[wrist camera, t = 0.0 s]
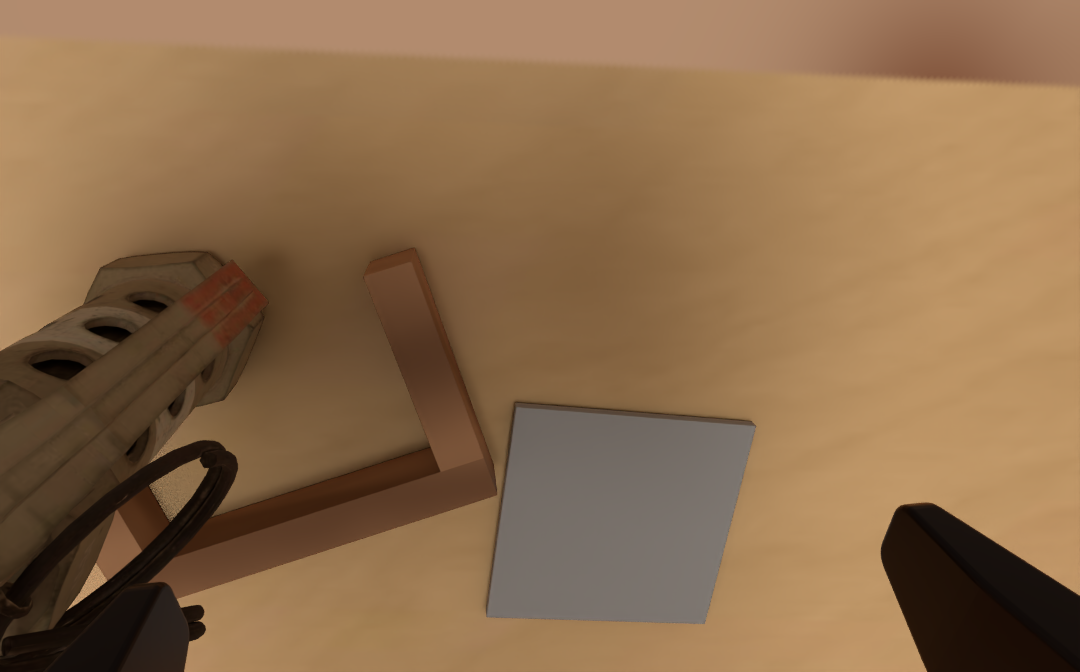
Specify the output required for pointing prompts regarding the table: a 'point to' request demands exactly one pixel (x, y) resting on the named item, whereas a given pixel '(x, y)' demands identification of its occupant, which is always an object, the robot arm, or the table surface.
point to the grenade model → (110, 436)
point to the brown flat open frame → (350, 500)
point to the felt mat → (614, 514)
